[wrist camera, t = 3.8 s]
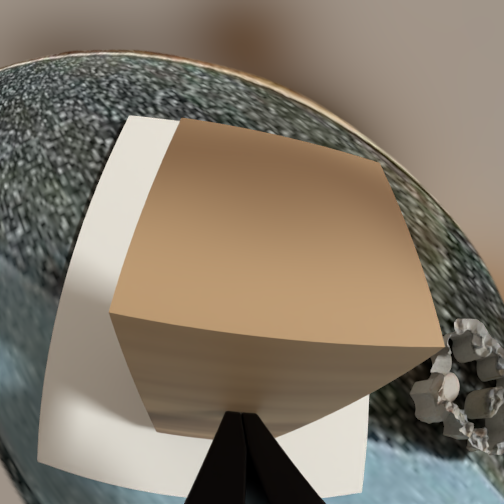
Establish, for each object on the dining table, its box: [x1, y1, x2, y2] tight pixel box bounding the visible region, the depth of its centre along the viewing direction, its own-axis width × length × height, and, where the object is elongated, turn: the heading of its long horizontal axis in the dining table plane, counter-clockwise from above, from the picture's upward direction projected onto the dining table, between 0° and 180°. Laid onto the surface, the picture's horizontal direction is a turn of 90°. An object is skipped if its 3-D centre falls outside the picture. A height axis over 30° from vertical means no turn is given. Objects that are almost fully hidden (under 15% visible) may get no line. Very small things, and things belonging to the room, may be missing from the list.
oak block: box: [109, 118, 445, 440], centre depth 10 cm, size 5×5×12 cm
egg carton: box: [410, 319, 504, 455], centre depth 17 cm, size 11×8×4 cm
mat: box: [37, 116, 369, 498], centre depth 18 cm, size 24×18×1 cm
